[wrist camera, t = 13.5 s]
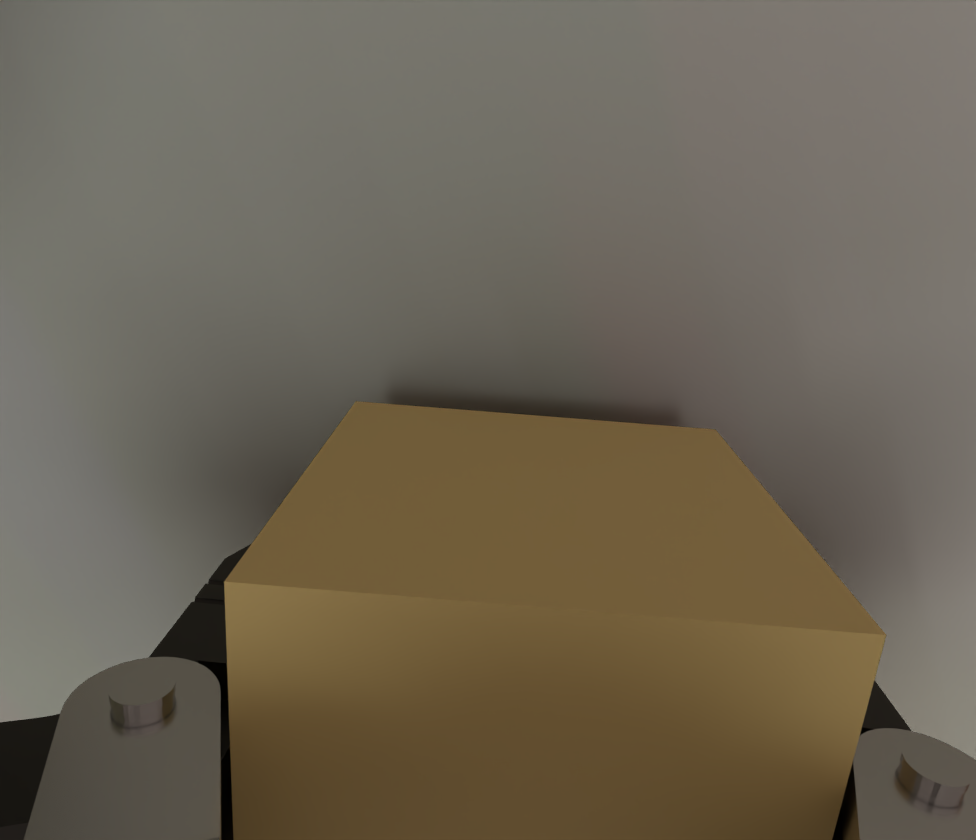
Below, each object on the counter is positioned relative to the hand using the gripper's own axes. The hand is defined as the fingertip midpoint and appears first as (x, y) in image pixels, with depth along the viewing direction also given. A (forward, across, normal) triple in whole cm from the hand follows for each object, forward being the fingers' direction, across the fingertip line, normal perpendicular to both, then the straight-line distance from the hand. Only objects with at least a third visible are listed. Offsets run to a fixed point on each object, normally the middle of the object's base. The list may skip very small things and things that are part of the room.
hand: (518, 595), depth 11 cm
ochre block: (0, 0, 0) cm, 0 cm away
